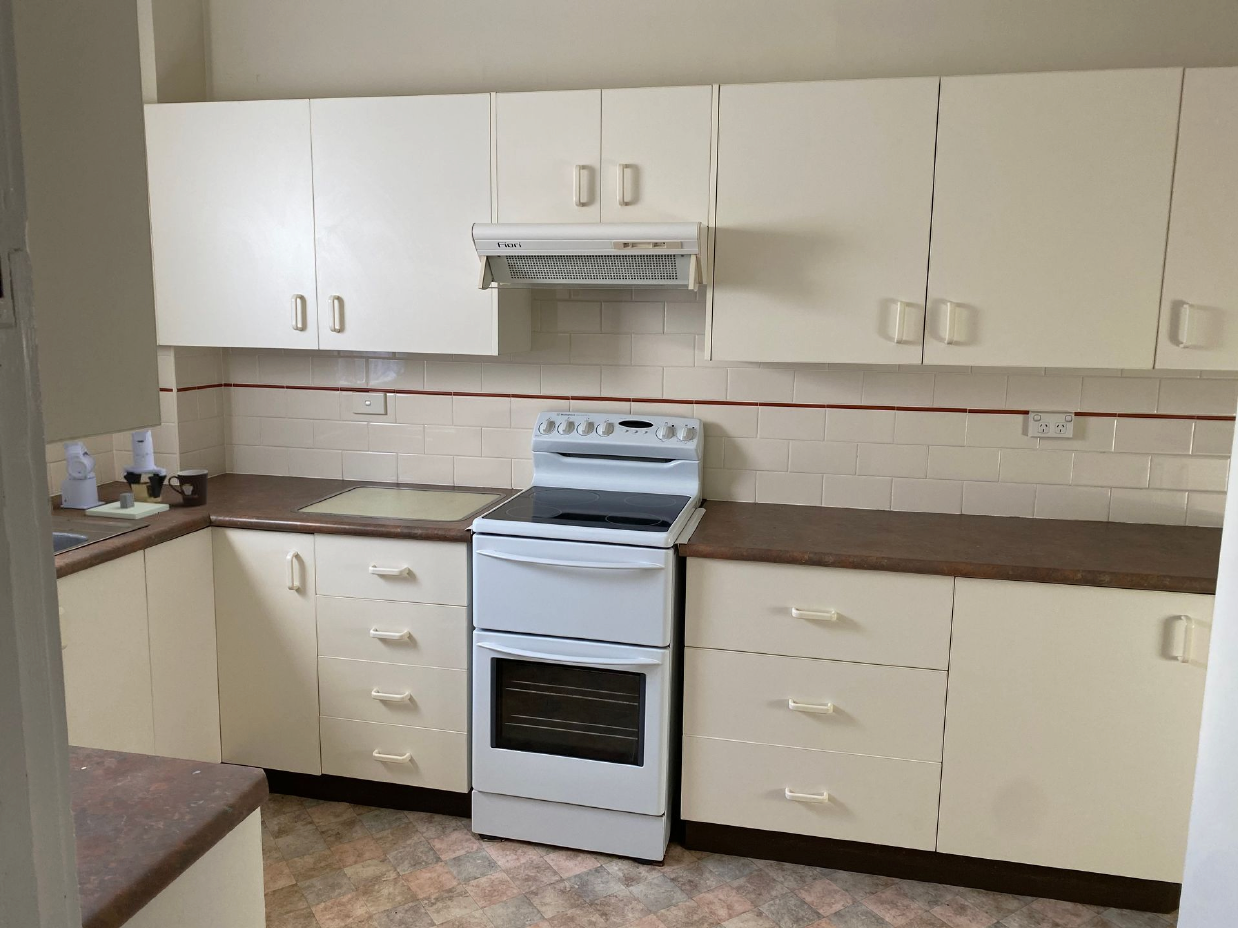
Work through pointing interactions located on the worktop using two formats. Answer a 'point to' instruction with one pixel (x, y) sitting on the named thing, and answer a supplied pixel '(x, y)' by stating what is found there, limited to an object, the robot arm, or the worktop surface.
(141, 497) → the brass collar
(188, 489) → the coffee mug
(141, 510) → the post stand
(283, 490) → the worktop surface
